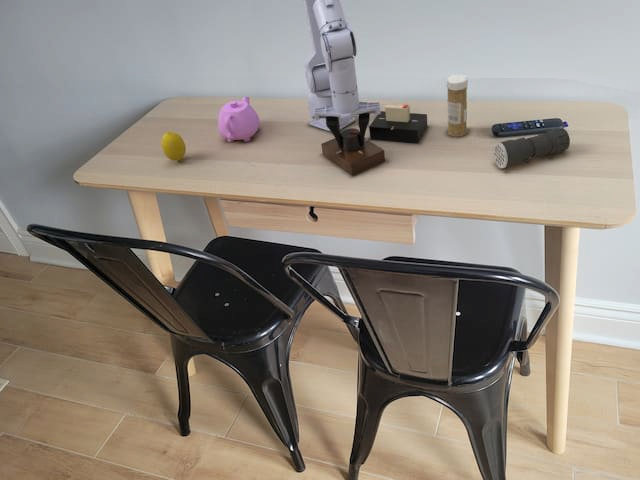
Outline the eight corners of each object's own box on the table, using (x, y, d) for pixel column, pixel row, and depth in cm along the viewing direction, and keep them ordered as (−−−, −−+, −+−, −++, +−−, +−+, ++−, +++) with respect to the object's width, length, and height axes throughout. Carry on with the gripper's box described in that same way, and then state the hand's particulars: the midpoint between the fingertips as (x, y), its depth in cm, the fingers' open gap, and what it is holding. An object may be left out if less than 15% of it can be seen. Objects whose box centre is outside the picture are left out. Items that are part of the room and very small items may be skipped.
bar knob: (386, 120, 138) (384, 106, 135) (388, 117, 139) (387, 103, 136) (408, 122, 136) (407, 107, 133) (410, 119, 137) (409, 104, 134)
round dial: (339, 150, 131) (337, 135, 128) (346, 141, 134) (343, 126, 131) (358, 152, 129) (356, 136, 127) (363, 142, 132) (362, 127, 130)
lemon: (193, 155, 144) (183, 126, 139) (182, 167, 141) (172, 138, 135) (175, 154, 146) (164, 126, 141) (163, 166, 142) (152, 137, 137)
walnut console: (322, 155, 136) (320, 143, 134) (354, 141, 139) (352, 129, 137) (352, 176, 128) (350, 164, 125) (385, 161, 131) (384, 149, 128)
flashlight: (556, 143, 127) (559, 121, 123) (570, 155, 123) (574, 132, 119) (492, 160, 125) (494, 138, 121) (504, 172, 121) (506, 150, 117)
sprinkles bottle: (471, 132, 135) (472, 77, 127) (456, 139, 134) (456, 84, 125) (457, 126, 139) (457, 72, 130) (443, 133, 137) (442, 78, 128)
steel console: (369, 141, 139) (367, 127, 136) (382, 122, 145) (381, 108, 143) (416, 145, 134) (416, 131, 132) (428, 125, 141) (428, 111, 138)
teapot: (214, 148, 146) (203, 114, 140) (235, 120, 157) (226, 87, 151) (251, 148, 143) (242, 113, 137) (271, 119, 154) (263, 86, 148)
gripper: (308, 99, 120) (318, 156, 129) (377, 92, 118) (383, 150, 127) (311, 85, 125) (321, 141, 134) (378, 78, 124) (383, 135, 133)
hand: (351, 144), depth 131 cm, fingers closed on round dial, 4 cm apart
